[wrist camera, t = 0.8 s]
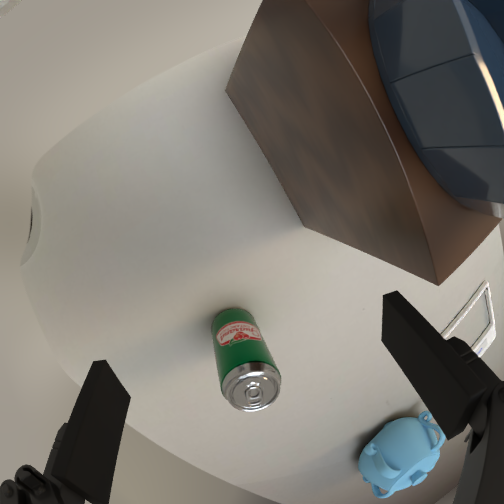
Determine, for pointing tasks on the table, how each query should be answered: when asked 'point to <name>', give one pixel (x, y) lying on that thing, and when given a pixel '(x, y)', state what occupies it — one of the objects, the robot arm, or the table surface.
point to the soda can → (244, 362)
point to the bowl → (447, 90)
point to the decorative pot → (401, 454)
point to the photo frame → (490, 331)
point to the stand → (345, 139)
